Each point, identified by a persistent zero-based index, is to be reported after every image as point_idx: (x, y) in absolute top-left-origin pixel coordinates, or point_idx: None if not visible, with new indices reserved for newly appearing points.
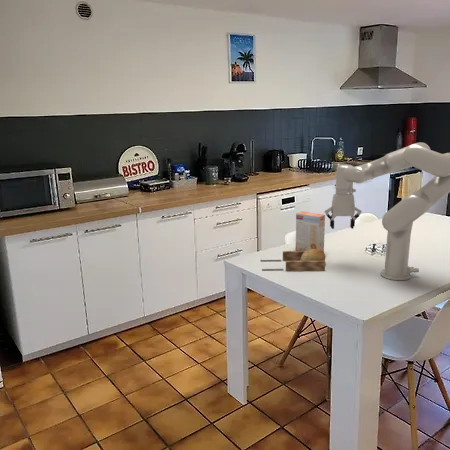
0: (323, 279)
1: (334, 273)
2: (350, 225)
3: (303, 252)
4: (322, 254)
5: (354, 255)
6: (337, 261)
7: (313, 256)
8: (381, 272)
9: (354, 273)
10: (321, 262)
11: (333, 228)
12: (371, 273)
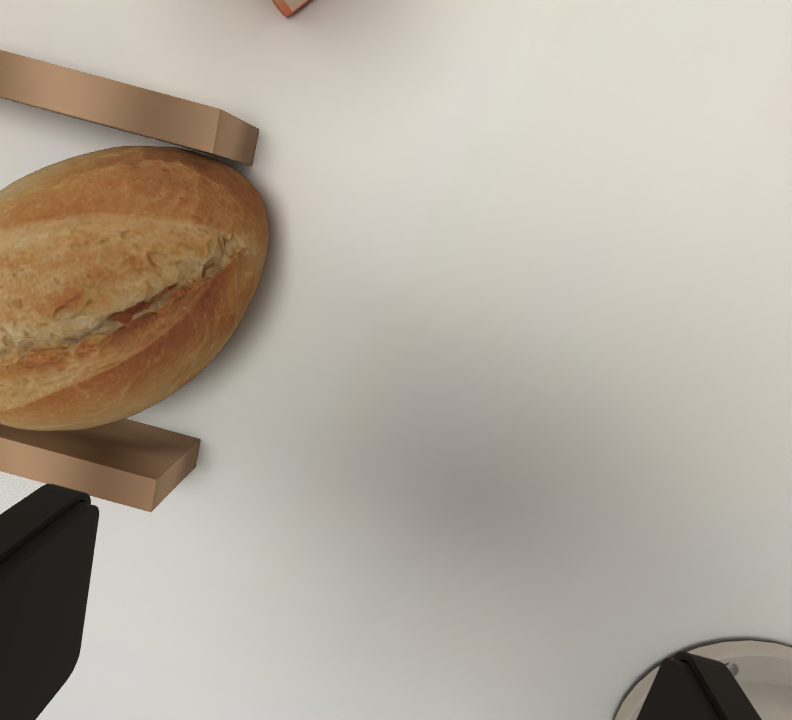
0: (115, 633)
1: (254, 548)
2: (683, 708)
3: (2, 96)
4: (148, 389)
5: (744, 108)
6: (432, 257)
7: (17, 427)
8: (634, 717)
9: (424, 599)
10: (117, 496)
11: (55, 676)
12: (569, 642)
